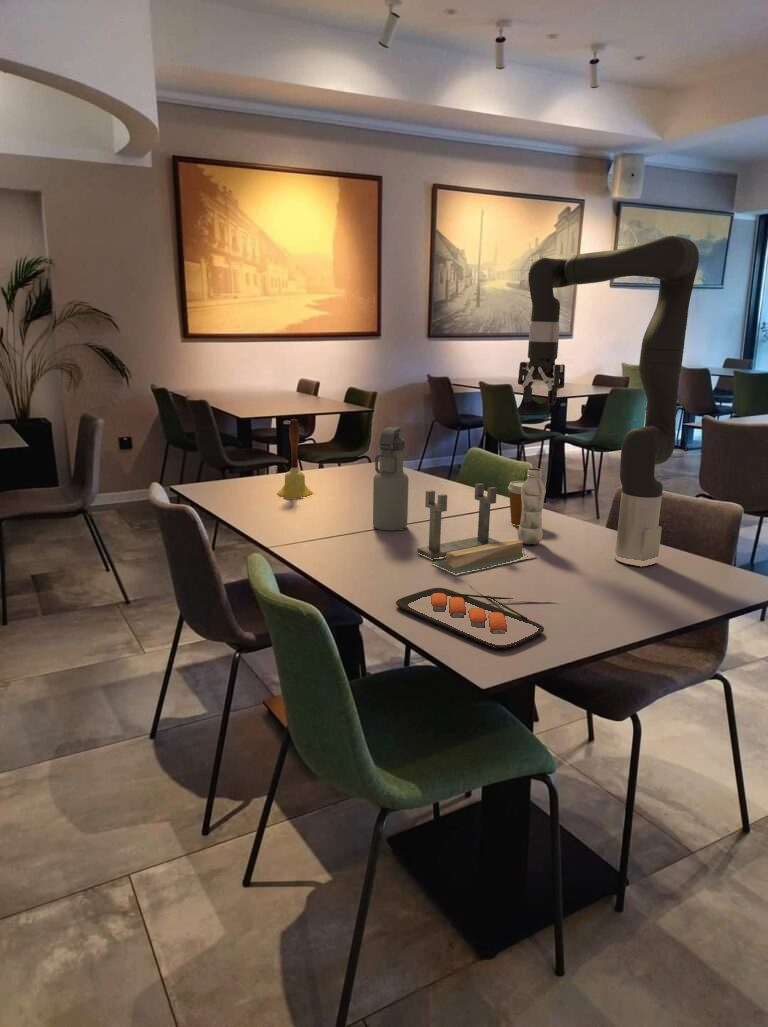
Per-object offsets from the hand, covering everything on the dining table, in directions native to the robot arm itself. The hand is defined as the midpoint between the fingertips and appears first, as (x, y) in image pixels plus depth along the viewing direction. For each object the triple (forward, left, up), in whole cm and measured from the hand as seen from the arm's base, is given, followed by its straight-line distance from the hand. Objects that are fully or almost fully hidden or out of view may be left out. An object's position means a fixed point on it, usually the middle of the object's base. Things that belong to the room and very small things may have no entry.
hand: (539, 403), depth 189 cm
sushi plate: (-35, +46, -37) cm, 69 cm away
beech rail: (-11, +26, -36) cm, 45 cm away
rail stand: (-1, +26, -36) cm, 44 cm away
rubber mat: (-11, +26, -36) cm, 46 cm away
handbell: (+75, +34, -36) cm, 90 cm away
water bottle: (+26, +29, -36) cm, 53 cm away
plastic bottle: (-6, +6, -36) cm, 37 cm away
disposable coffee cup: (+9, -6, -36) cm, 38 cm away
